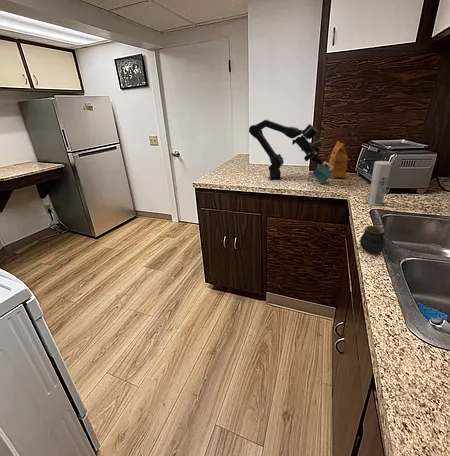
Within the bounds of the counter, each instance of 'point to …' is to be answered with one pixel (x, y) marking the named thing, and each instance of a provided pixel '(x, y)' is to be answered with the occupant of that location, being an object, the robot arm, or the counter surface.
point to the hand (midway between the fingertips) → (322, 164)
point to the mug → (322, 172)
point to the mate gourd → (373, 239)
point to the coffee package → (338, 161)
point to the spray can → (379, 182)
